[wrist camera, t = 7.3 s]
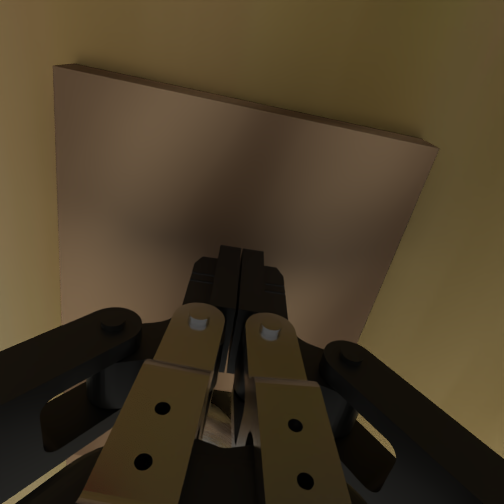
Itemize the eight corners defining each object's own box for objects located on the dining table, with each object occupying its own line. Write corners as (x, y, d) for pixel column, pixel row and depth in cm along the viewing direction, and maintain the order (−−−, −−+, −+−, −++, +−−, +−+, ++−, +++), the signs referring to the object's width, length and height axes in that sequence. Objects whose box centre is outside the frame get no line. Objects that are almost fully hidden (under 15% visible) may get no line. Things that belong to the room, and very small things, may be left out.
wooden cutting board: (421, 139, 14) (439, 148, 12) (286, 479, 23) (288, 505, 22) (73, 63, 13) (52, 65, 11) (78, 451, 22) (66, 477, 21)
